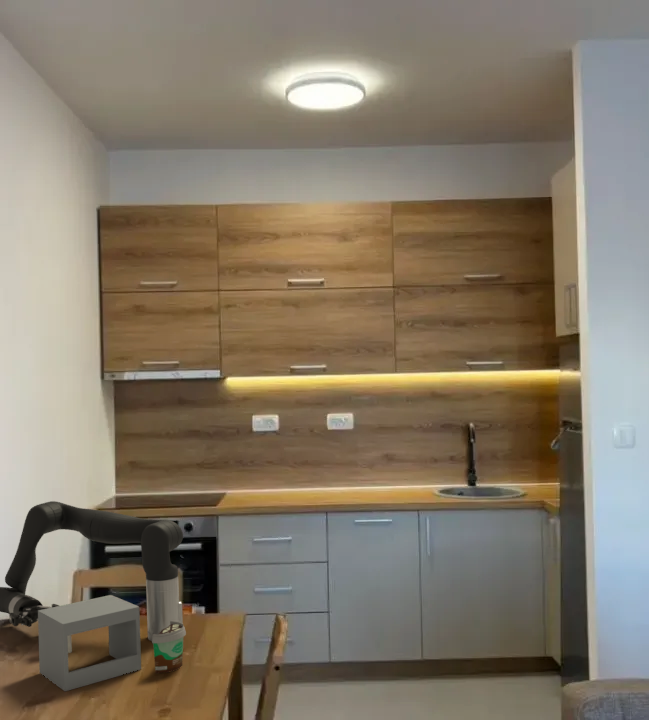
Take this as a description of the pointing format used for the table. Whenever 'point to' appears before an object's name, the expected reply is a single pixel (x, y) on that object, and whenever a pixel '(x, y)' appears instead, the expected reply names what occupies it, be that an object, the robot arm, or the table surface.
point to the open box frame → (88, 617)
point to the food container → (169, 647)
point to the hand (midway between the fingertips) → (45, 619)
